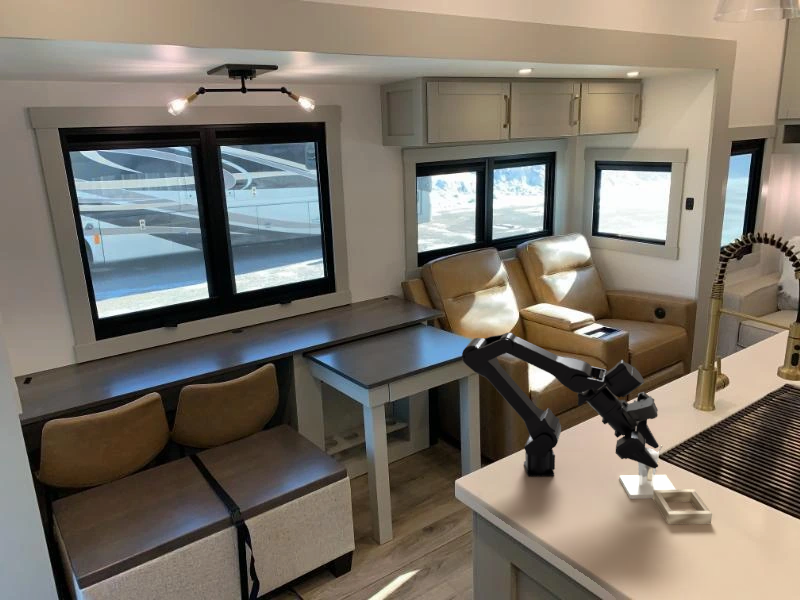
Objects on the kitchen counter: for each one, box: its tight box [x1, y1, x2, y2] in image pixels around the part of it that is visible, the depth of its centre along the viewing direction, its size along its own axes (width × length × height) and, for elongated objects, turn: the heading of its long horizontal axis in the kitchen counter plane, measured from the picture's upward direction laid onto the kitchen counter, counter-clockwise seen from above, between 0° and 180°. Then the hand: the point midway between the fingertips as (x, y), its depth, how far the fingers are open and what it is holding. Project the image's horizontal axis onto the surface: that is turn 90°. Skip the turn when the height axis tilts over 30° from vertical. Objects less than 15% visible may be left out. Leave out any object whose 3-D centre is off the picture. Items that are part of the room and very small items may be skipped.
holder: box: [652, 488, 713, 525], centre depth 134 cm, size 9×9×2 cm
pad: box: [618, 474, 677, 500], centre depth 143 cm, size 11×8×1 cm
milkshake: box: [637, 445, 663, 488], centre depth 142 cm, size 5×5×10 cm
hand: (656, 457), depth 141 cm, fingers open, 9 cm apart
